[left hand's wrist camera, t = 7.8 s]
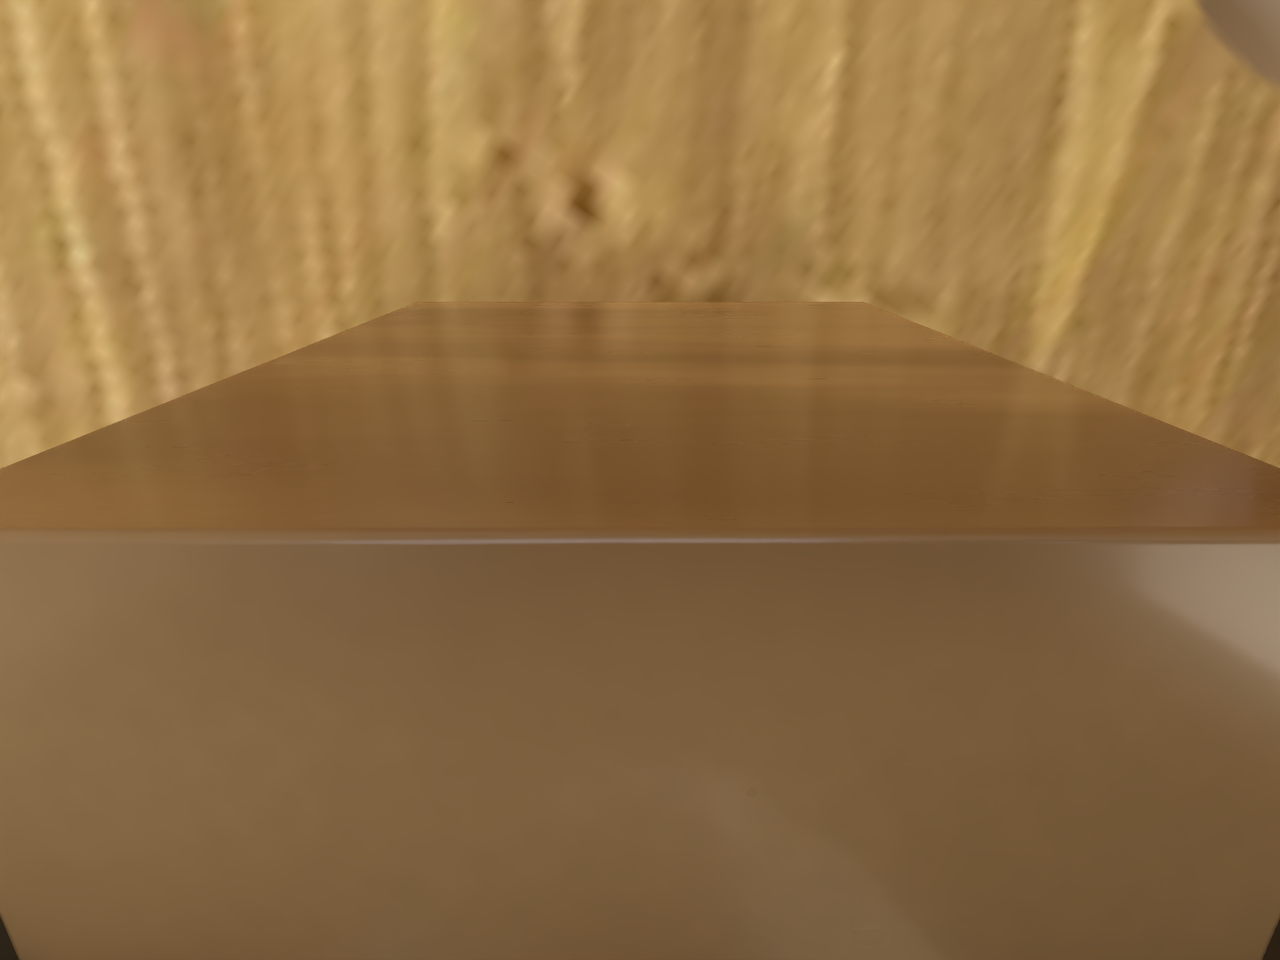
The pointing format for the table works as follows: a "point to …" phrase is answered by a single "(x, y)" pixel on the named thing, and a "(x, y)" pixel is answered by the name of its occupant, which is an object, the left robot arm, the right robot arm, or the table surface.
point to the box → (640, 655)
